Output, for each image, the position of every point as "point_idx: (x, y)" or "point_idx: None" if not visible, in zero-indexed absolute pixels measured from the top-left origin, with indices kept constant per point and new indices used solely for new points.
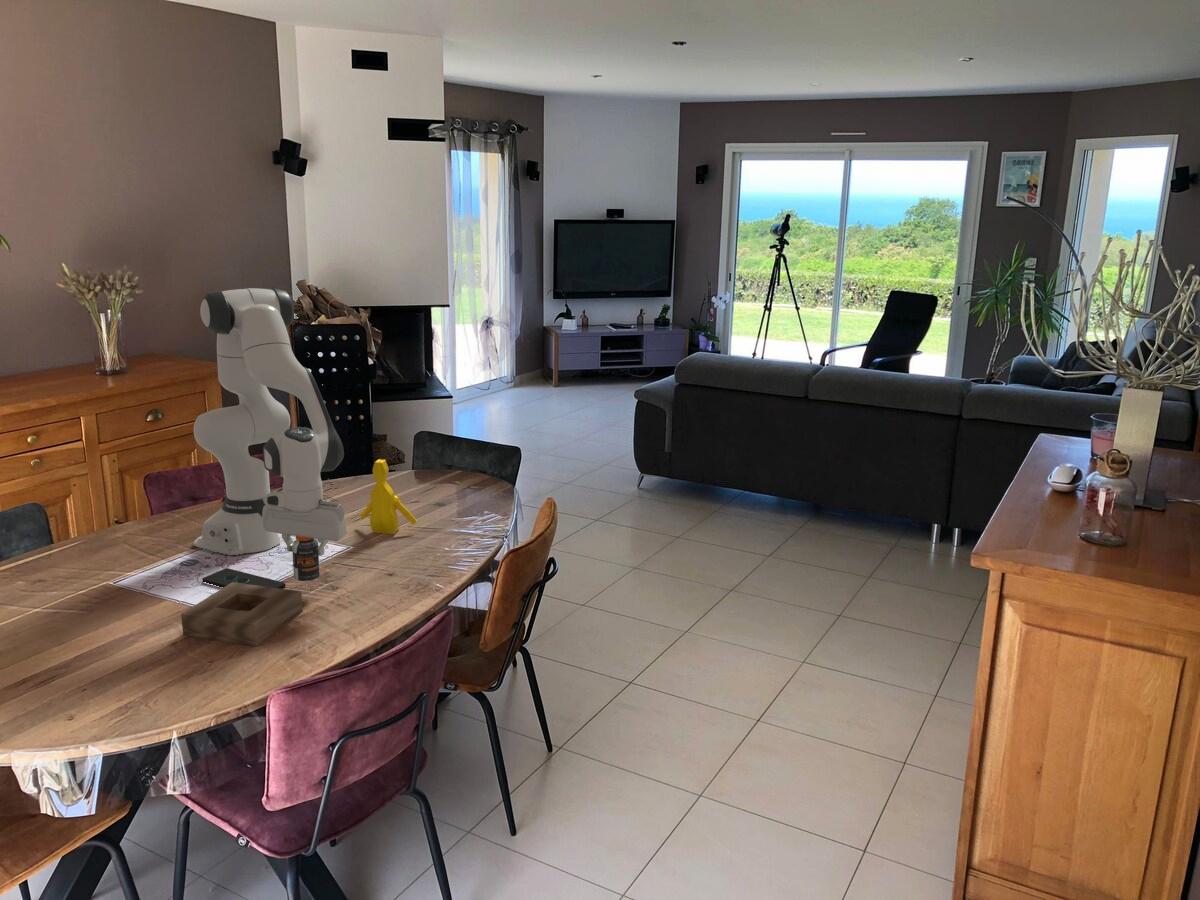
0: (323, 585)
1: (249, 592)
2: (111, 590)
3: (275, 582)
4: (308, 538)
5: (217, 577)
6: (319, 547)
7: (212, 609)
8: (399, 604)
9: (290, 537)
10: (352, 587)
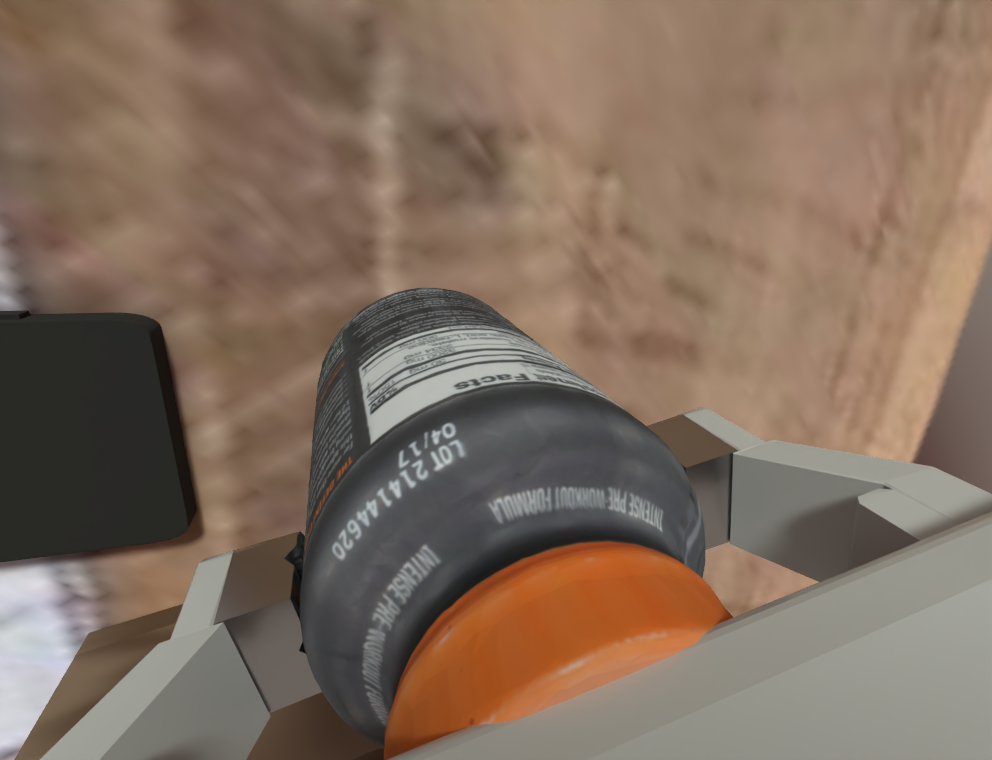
0: (373, 154)
1: (301, 756)
2: None
3: (57, 356)
4: None
5: None
6: (776, 553)
7: None
8: (905, 183)
9: (137, 734)
10: (576, 88)
